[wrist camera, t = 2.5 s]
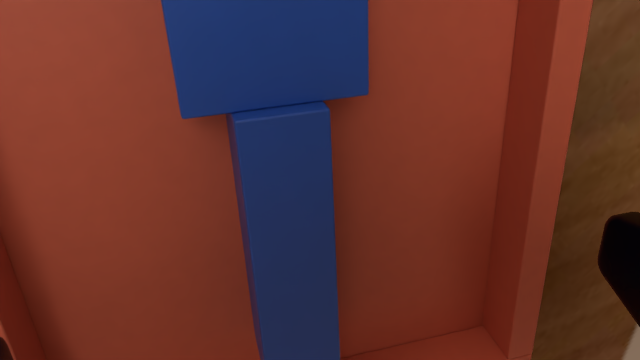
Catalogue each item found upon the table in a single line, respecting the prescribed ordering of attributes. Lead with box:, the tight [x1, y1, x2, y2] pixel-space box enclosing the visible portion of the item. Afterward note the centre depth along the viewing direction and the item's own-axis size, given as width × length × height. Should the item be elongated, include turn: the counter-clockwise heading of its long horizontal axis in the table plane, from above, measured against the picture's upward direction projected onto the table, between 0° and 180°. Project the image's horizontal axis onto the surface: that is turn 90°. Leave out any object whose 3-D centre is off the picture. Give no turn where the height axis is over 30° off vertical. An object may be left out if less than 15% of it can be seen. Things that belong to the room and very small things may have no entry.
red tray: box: [0, 0, 593, 360], centre depth 12 cm, size 16×14×2 cm
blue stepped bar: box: [161, 0, 369, 360], centre depth 12 cm, size 11×4×2 cm, turn 3°
